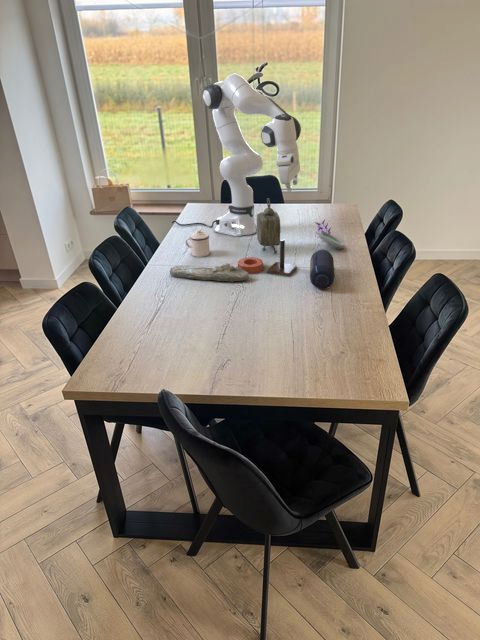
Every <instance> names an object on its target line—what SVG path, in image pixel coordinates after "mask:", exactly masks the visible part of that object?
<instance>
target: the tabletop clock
mask: <svg viewBox="0 0 480 640" xmlns="http://www.w3.org/2000/svg"><path fill="white" fill-rule="evenodd" d="M270 199H271V198H269V197H267V199H266V205H267V207H266V208H265V209H264V210H263V212H259V213H257V214H256V229H257V231H256V238H257V241H258V244H259V245H260V246H262V251H264V252H265V251H266V250H267V248H266V247H271V248H272V249H273V253H274V254H275V255H277V254H278V250H276V248H275V246H276V247H277V246H280V240H281V219H280V218H281V217H280V216H279V214H278V212H277V211H275V210H274V208H271V200H270Z"/></svg>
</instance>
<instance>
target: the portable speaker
mask: <svg viewBox="0 0 480 640" xmlns="http://www.w3.org/2000/svg"><path fill="white" fill-rule="evenodd" d="M309 262H310V265H309V277H310V278H309V279H310V283H311V284H312V286H314V287H315V288H316V289H319V290H325V289H329V288H331V286H332V285H333V284H334V281H335V278H336V276H335V275H336V274H335V263H334V256H333V255H332V253H331V252H330V251H329V250H327V249H324V248H323V249H318V250H316V251H314V252H313V253H312V255H311V257H310V261H309Z"/></svg>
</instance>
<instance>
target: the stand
mask: <svg viewBox="0 0 480 640" xmlns="http://www.w3.org/2000/svg"><path fill="white" fill-rule="evenodd" d="M285 245H286V240H285V239H283V238H280V245H279V262H278V261H275V262H274V263H273V264H272V265H271V266H270V267H269V268H268V269H267V274H270V275H275V276H276V275H277V276H284V277H290V276H291V275H292V274H293V273H294V272H295V270H297V264H293V263H285V253H286V250H285V249H286V246H285Z"/></svg>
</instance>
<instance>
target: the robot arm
mask: <svg viewBox="0 0 480 640" xmlns="http://www.w3.org/2000/svg"><path fill="white" fill-rule="evenodd" d="M202 100H203V103H204V105H205V106H206V107H207V108H208V109H209V110H212V117H213V122H214V126H215V129H216V132H217V134H218V136H219V137H218V138H219V140H220V143H221V146H222V147H223V148H224V149H225V150H228V151H229V152H230V154H232V155H230V156H227V157H225V158H224V159H222V160H221V161H220V163H219V173H220V176H221V177H222V178H223V179H224V180H226V182H227V183H228V185H229V189H230V193H231V204H229V205H228V207H227V210H229V211H228V212H227V213H225V214H224V215H223V216H219V217H217V218H216V219H215V220H213V221H212V223H211V225H210V226H209V225H207V224H206V223H203V222H192V223H185V224H183V223H180V222H178V221H176V220H173V221H171V224H174V223H176V224H177V225H179V226H181V227H185V226H186V227H187V226H192V225H202V226H204V227H209V228H213V227H214V224H215V225H216V227H215V228H214V232H215V233H220V234H223V235H229V236H232V237H241V236H250V235H253V234H255V233H257V225H256V222H255V221H256V220H255V204H254V190H253V188H252V187H251V186H250V185H249V184H248V183H247V179H246V178H247V177H249V176H254V175H255V174H257V173H259V172H261V170H262V169H263V166H264V165H263V164H264V162H263V158H262V156H261V155H260V154H259V153H258V152H256V151H254V150H253V149H252V148H251V146H250V145H249V144H248V142H247V141H246V139H245V137H244V136H243V135H244V134H243V132H242V130H241V127H240V124H239V122H238V119H237V117H236V114H235V109H236V110H237V111H238V112H240V113H241V114H243V115H245V116H247V115H249V116H251V115H263V116H267V117H269V118H271V120H272V121H270V122H268V123H267V124H265V125H263V127H262V128H261V131H260V139H261V142H262V144H263V145H264V146H265V147H267V148H277V149H276V151H277V156H276V159H275V165H276V166H277V173H278V176H279V182H280V183H281V184H282V185H284V186H285V187H286V192H288V193H289V192H292V190H293V188H292V186H296V185H297V184H298V173H299V172H300V171H301V166H300V165H301V164H300V155H299V147H298V143H297V141H298V139H299V138H300V136H301V133H302V126H301V123H300V121H299V120H298V119H297V118H296V117H294V116H292V115H290V114H289V113H287V111H285V110H284V109H283V108H282V107H281V106H279V104H278V103H276V102H275V101H274V100H273V99H271V98H270V97H269V96H267V95H264V94H262V93H260V92H259V91H257V90H256V89H255V88H253V86H252V85H251V84H250V83H249V82H248V80H246V78H244V77H243V76H241V75H240V74H238V73H230V74H229V75H228V76H226V78H225V79H223V80H220V81H218V82H215V83H210V84H207V85H206V86H205V87H204V88H203V91H202ZM291 183H292V184H291ZM291 185H292V186H291Z"/></svg>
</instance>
